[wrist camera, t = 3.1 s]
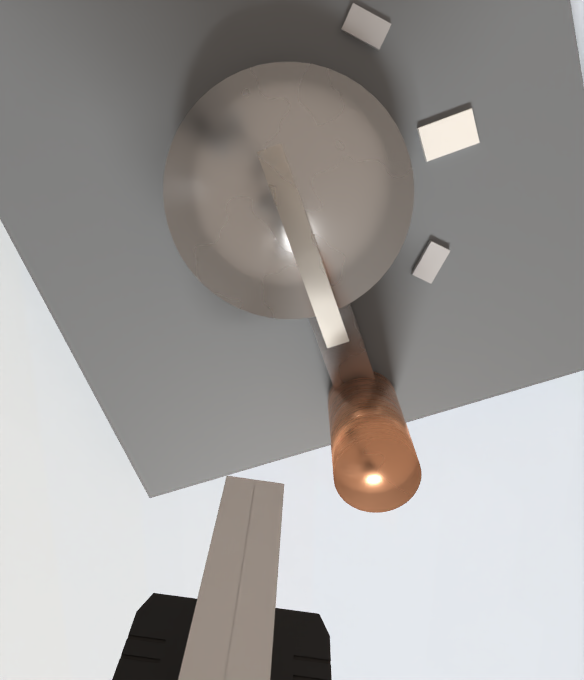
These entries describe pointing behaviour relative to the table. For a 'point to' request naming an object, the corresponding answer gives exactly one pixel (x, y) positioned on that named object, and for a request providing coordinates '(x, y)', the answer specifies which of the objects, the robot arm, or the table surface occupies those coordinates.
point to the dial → (304, 237)
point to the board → (369, 309)
